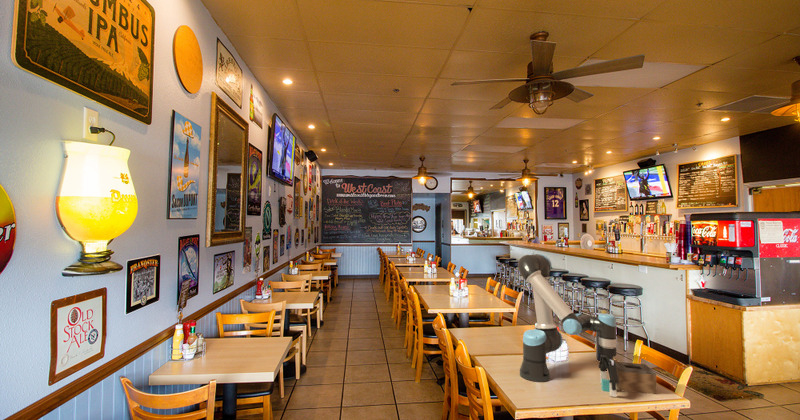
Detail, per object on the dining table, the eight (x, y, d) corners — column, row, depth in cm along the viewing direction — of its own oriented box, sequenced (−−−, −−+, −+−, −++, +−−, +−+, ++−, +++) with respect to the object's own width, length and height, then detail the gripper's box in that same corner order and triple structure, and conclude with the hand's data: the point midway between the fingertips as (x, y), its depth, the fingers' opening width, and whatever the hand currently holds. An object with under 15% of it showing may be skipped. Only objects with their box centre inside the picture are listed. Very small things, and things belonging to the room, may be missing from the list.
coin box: (619, 390, 180) (619, 369, 180) (611, 380, 192) (611, 361, 192) (656, 394, 176) (656, 373, 177) (645, 384, 188) (645, 364, 189)
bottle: (613, 360, 223) (612, 310, 225) (612, 364, 215) (612, 313, 217) (596, 357, 228) (596, 308, 230) (595, 361, 220) (594, 311, 222)
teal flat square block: (603, 391, 179) (603, 380, 179) (601, 389, 181) (601, 378, 181) (614, 392, 178) (614, 381, 178) (612, 390, 180) (612, 380, 180)
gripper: (625, 355, 167) (626, 402, 166) (607, 339, 192) (608, 381, 190) (607, 353, 169) (608, 400, 168) (591, 338, 193) (592, 379, 192)
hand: (608, 390), depth 179 cm, fingers open, 13 cm apart
